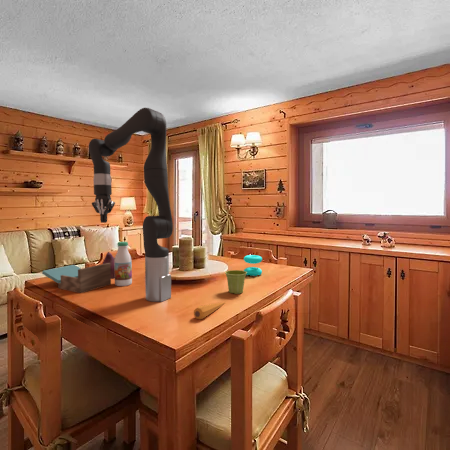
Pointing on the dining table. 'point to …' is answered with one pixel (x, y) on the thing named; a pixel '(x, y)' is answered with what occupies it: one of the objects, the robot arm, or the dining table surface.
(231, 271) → the plant pot
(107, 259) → the vegetable
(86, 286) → the wooden box
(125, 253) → the milk bottle
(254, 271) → the donuts
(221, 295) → the dining table surface
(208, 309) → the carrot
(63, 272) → the teal card
